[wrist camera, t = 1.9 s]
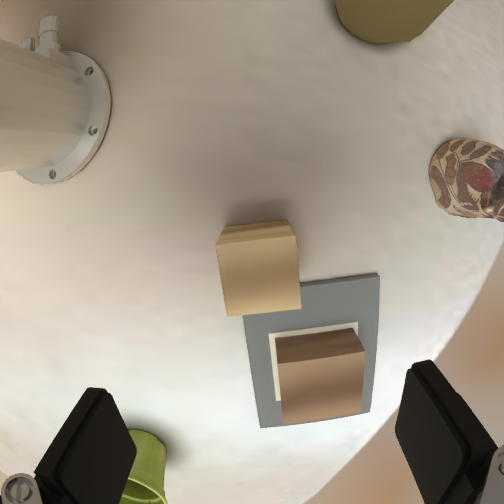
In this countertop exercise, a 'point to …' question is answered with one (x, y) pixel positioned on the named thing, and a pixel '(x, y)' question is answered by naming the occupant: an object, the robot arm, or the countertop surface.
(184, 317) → the countertop surface
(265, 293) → the oak cube
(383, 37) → the squeeze bottle
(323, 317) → the slate mat
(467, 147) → the figurine
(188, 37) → the countertop surface
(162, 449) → the plant pot
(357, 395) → the walnut base
